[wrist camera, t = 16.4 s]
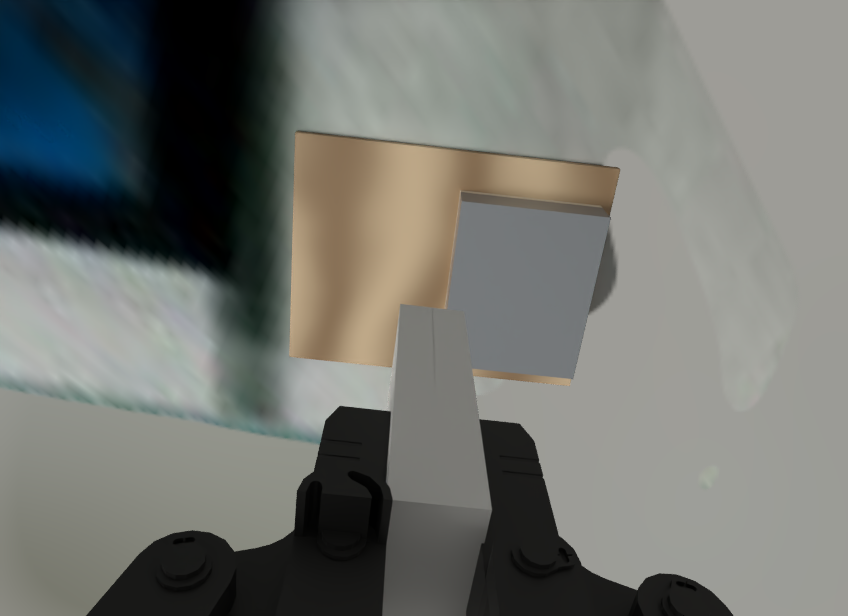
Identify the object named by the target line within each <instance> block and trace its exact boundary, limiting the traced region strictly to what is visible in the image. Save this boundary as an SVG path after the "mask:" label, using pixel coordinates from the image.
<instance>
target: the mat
mask: <svg viewBox="0 0 848 616" xmlns="http://www.w3.org/2000/svg"><path fill="white" fill-rule="evenodd" d="M619 173H620V169H619V168H617V167H609V166H601V165H592V164H583V163H574V162H566V161H557V160H548V159H539V158H530V157H522V156H513V155H504V154H495V153H487V152H478V151H469V150H460V149H452V148H443V147H434V146H425V145H416V144H408V143H399V142H390V141H381V140H373V139H364V138H355V137H346V136H338V135H329V134H320V133H311V132H302V131H296V132H295V165H294V203H293V242H292V280H291V318H290V357H297V358H307V359H316V360H326V361H336V362H345V363H355V364H364V365H374V366H383V367H392V365H393V357H394V349H395V341H396V334H397V326H398V318H399V310H400V304H406V305H414V306H422V307H431V308H439V309H445V302H446V294H447V287H448V279H449V272H450V264H451V257H452V249H453V242H454V234H455V227H456V219H457V212H458V204H459V197H460V190H464V191H473V192H482V193H491V194H500V195H509V196H518V197H527V198H536V199H545V200H554V201H563V202H572V203H580V204H589V205H598V206H601V207H602V208H603V209H604V210H605V212H606V213H607V214H608V215H609V216H610V212H611V207H612V203H613V199H614V195H615V190H616V186H617V182H618V178H619ZM472 372H473V376H479V377H489V378H498V379H508V380H518V381H527V382H537V383H546V384H556V385H566V386H570V382H571V379H566V378H557V377H547V376H538V375H528V374H518V373H509V372H499V371H489V370H480V369H472Z"/></svg>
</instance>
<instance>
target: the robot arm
mask: <svg viewBox="0 0 848 616" xmlns="http://www.w3.org/2000/svg"><path fill="white" fill-rule="evenodd" d="M86 616H733V614H732V613H731V612H730V610H729V609H728V608H727V607H726V605H724V603H723V602H722V601H721V600H719V598H718V597H717V596H716V595H715V594H714V593H712V592H711V591H710V590H708V589H707V588H705V587H703V586H702V585H700V584H699V583H697V582H696V581H693V580H691V579H688V578H685V577H682V576H679V575H675V574H657V575H654V576H651V577H648V578H646V579H645V580H644V581H643V583H642V584H641V585H640V587H639V588H638V590H635V589H632V588H629V587H627V586H624V585H621V584H618V583H616V582H613V581H610V580H607V579H605V578H602V577H600V576H598V575H596V574H594V573H592V572H590V571H589V570H587V569H586V568H584V567H583V566H582V565H581V562H580V560H579V558H578V557H577V554H576V552H575V550H574V549H573V548H572V547H571V546H570V545H569V544H568V543H567V542H566V541H565V540H564V539H562V538H561V537H559V535H558V531H557V527H556V523H555V519H554V516H553V512H552V508H551V504H550V500H549V496H548V492H547V489H546V485H545V481H544V479H543V473H542V469H541V466H540V463H539V458H538V454H537V450H536V446H535V443H534V440H533V439H532V438H531V437H530V435H529V434H528V433H527V432H526V431H525V430H524V428H523V427H522V426H521V425H520V424H517V423H508V422H499V421H490V420H481V419H479V414H478V407H477V401H476V393H475V386H474V379H473V372H472V365H471V358H470V350H469V343H468V336H467V329H466V322H465V315H464V311H456V310H448V309H439V308H431V307H422V306H414V305H406V304H400V310H399V318H398V326H397V334H396V341H395V349H394V357H393V365H392V372H391V380H390V388H389V395H388V404H387V411H382V410H372V409H363V408H354V407H345V406H339V407H338V408H337V409H336V410H335V411H334V412H333V413H332V414H331V415H330V416H329V417H328V418H327V419H326V421H325V425H324V429H323V434H322V438H321V442H320V447H319V451H318V457H317V460H316V465H315V468H314V472H313V473H311V474H310V475H308V476H307V477H306V478H304V479H303V481H302V483H301V485H300V486H299V488H298V490H297V499H296V516H295V529H294V531H293V532H291V533H290V534H288V535H287V536H286V537H284V538H283V539H281V540H279V541H277V542H275V543H272V544H270V545H266V546H262V547H259V548H255V549H248V550H242V551H236V552H234V551H233V549H232V548H231V547H230V546H229V544H228V543H227V542H226V540H224V539H222V538H220V537H218V536H216V535H214V534H212V533H209V532H201V531H193V530H192V531H185V532H179V533H173V534H170V535H168V536H166V537H164V538H161V539H159V540H156V541H154V542H153V543H152V544H151V545H149V546H148V547H147V548H146V549H145V550H143V551H142V552H141V553H140V554H139V555H138V556H137V557H136V558H135V559H134V561H133V562H132V563H131V564H130V565H129V567H128V568H127V569H126V570H125V571H124V572H123V574H122V575H121V576H120V577H119V578H118V579H117V580H116V582H115V583H114V584H113V585H112V586H111V587H110V589H109V590H108V591H107V592H106V593H105V594H104V596H103V597H102V598H101V599H100V600H99V601H98V603H97V604H96V605H95V606H94V607H93V609H92V610H91V611H90V612H89V613H88V614H87V615H86Z"/></svg>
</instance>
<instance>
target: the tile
mask: <svg viewBox="0 0 848 616" xmlns="http://www.w3.org/2000/svg"><path fill="white" fill-rule="evenodd" d="M610 219H611V217H610V216H609V215H608V214H607V213H606V212H605V210H604V209H603V208H602V207H601V206H598V205H589V204H580V203H572V202H563V201H554V200H545V199H536V198H527V197H518V196H509V195H500V194H491V193H482V192H473V191H464V190H460V197H459V204H458V212H457V219H456V227H455V234H454V242H453V249H452V257H451V264H450V272H449V279H448V287H447V294H446V302H445V309H448V310H456V311H464V315H465V322H466V329H467V336H468V343H469V350H470V358H471V365H472V369H480V370H489V371H499V372H509V373H518V374H528V375H538V376H547V377H557V378H566V379H573V376H574V373H575V368H576V364H577V360H578V355H579V351H580V347H581V343H582V338H583V334H584V330H585V326H586V321H587V317H588V313H589V309H590V304H591V300H592V296H593V292H594V287H595V283H596V279H597V274H598V270H599V266H600V262H601V257H602V253H603V249H604V245H605V240H606V236H607V232H608V228H609V223H610Z"/></svg>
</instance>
